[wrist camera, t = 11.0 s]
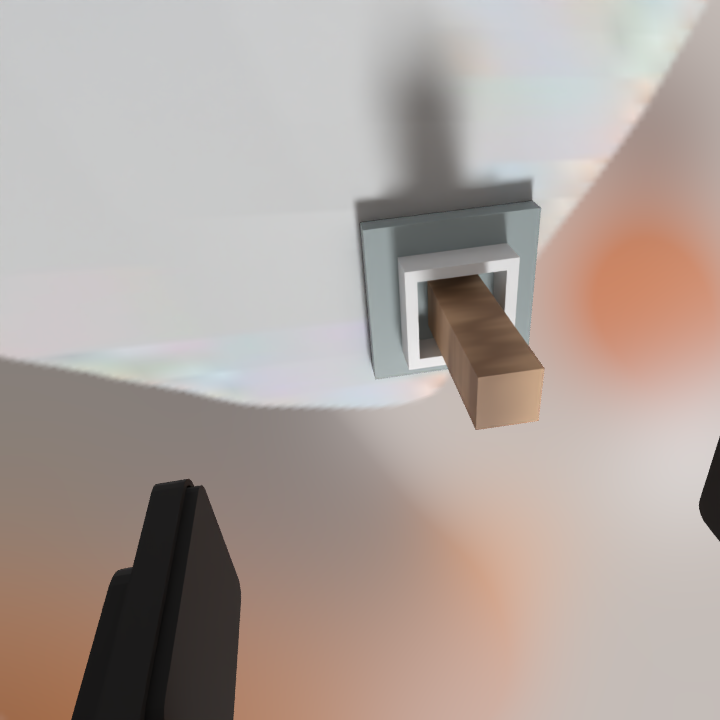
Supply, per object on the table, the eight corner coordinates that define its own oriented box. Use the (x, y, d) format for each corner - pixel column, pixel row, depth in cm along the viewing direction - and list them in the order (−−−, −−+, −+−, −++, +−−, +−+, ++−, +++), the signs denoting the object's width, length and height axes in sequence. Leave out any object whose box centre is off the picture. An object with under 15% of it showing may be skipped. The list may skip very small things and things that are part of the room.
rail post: (477, 274, 41) (544, 368, 31) (476, 318, 43) (538, 420, 33) (427, 280, 40) (478, 377, 30) (428, 325, 42) (475, 430, 32)
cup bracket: (532, 200, 40) (556, 220, 37) (520, 347, 46) (539, 375, 43) (359, 222, 39) (368, 244, 36) (372, 368, 46) (380, 398, 42)
